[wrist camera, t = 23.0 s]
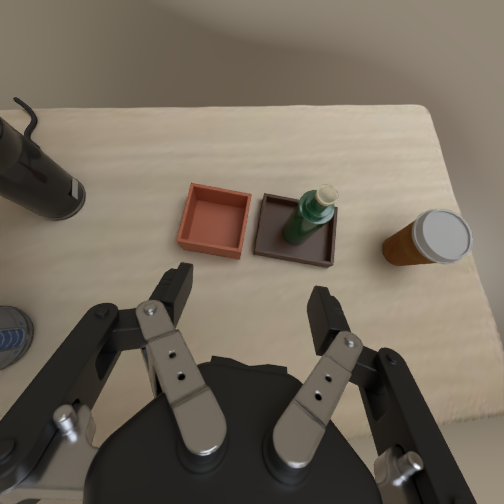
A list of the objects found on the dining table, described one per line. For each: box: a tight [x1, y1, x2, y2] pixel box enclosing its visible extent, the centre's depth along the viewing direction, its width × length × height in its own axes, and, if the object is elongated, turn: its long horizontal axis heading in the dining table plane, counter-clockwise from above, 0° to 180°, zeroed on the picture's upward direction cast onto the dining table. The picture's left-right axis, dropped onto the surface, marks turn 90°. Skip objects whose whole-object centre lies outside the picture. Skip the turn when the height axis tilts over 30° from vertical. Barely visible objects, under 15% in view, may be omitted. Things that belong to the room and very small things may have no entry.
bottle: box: [282, 184, 338, 246], centre depth 40 cm, size 6×6×16 cm
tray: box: [254, 193, 338, 268], centre depth 47 cm, size 15×12×3 cm
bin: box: [176, 183, 251, 259], centre depth 44 cm, size 11×11×6 cm
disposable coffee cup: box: [383, 209, 473, 266], centre depth 43 cm, size 10×10×12 cm
